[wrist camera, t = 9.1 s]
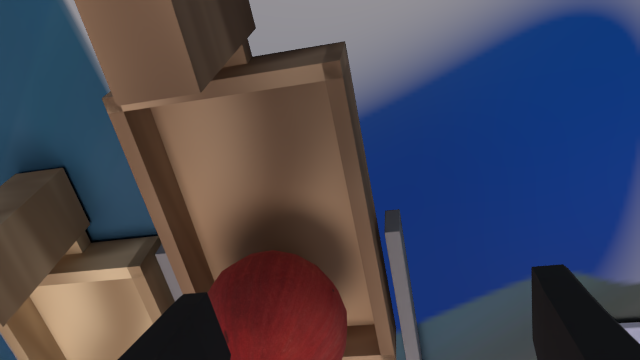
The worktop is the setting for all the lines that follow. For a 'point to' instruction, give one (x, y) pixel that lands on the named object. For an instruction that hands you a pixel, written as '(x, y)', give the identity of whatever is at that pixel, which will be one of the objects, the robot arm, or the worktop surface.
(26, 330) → the oak tray
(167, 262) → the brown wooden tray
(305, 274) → the onion
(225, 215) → the walnut tray
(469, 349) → the worktop surface
